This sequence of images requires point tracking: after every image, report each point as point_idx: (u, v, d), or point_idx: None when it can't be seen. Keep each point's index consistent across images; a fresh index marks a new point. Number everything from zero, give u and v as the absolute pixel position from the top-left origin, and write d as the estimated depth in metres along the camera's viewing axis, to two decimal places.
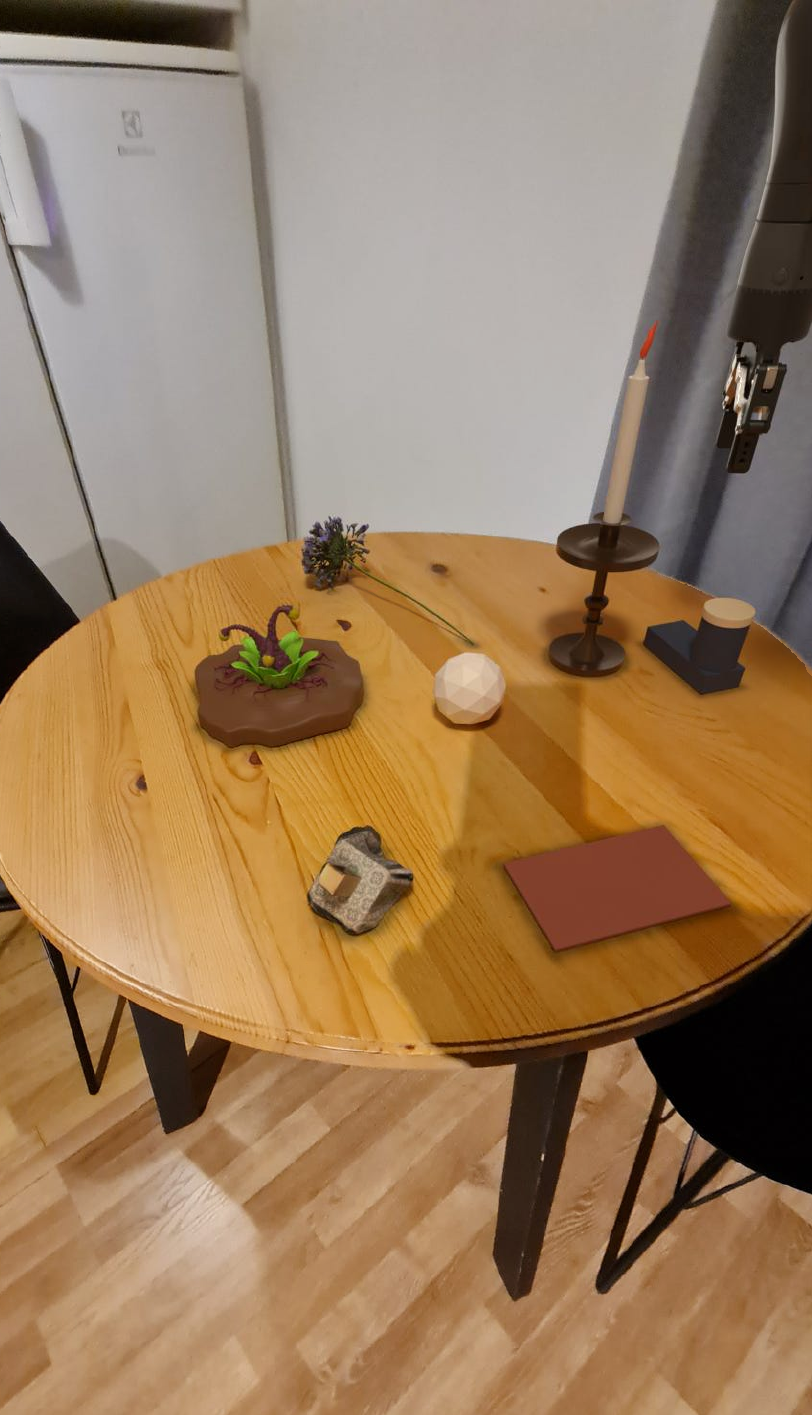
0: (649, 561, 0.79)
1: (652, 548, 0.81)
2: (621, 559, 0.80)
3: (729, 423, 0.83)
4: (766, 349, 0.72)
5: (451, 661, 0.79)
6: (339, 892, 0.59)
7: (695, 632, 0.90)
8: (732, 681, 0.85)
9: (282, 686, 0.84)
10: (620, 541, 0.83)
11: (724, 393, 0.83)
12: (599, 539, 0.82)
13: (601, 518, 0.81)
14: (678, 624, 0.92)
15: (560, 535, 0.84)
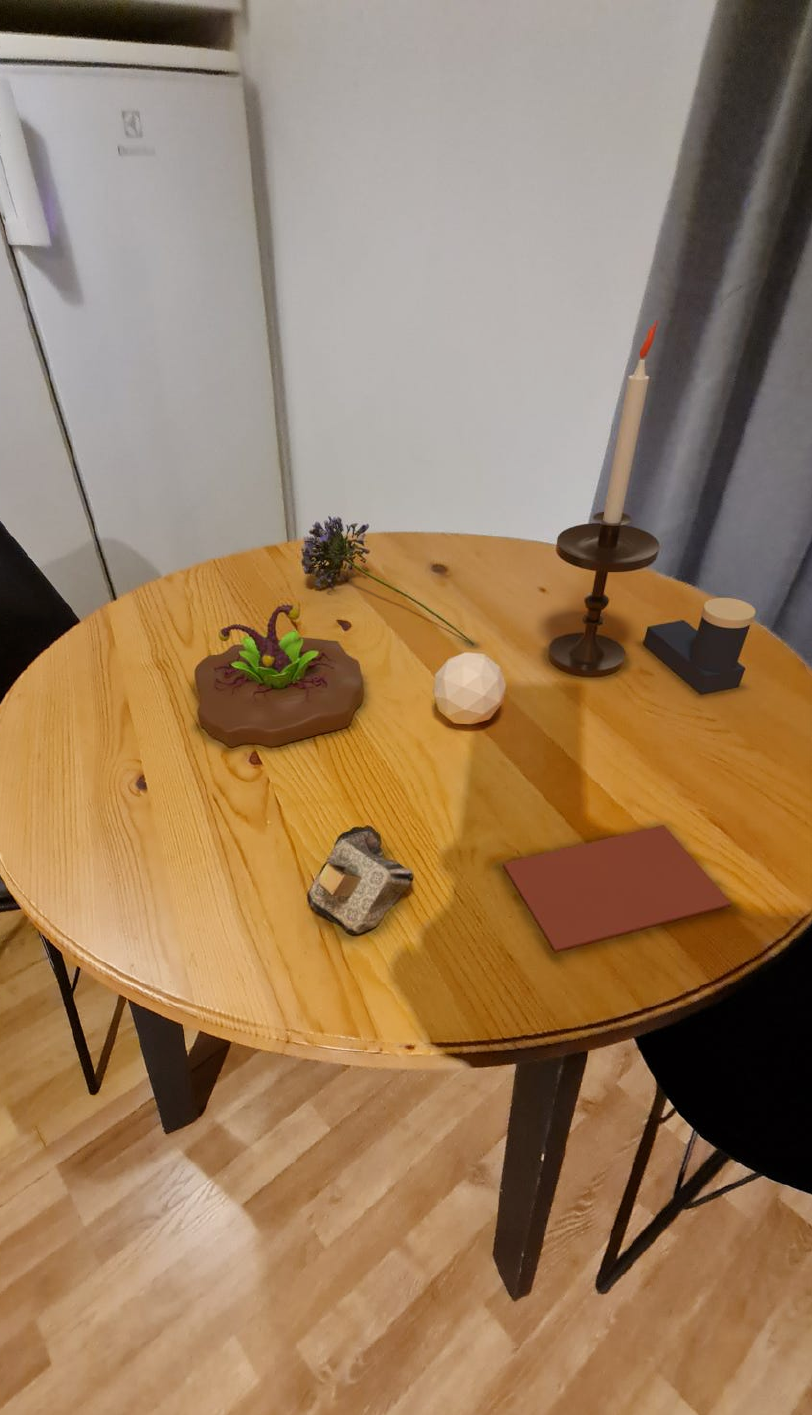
0: (649, 561, 0.79)
1: (652, 548, 0.81)
2: (621, 559, 0.80)
3: None
4: None
5: (451, 661, 0.79)
6: (339, 892, 0.59)
7: (695, 632, 0.90)
8: (732, 681, 0.85)
9: (282, 686, 0.84)
10: (620, 541, 0.83)
11: None
12: (599, 539, 0.82)
13: (601, 518, 0.81)
14: (678, 624, 0.92)
15: (560, 535, 0.84)
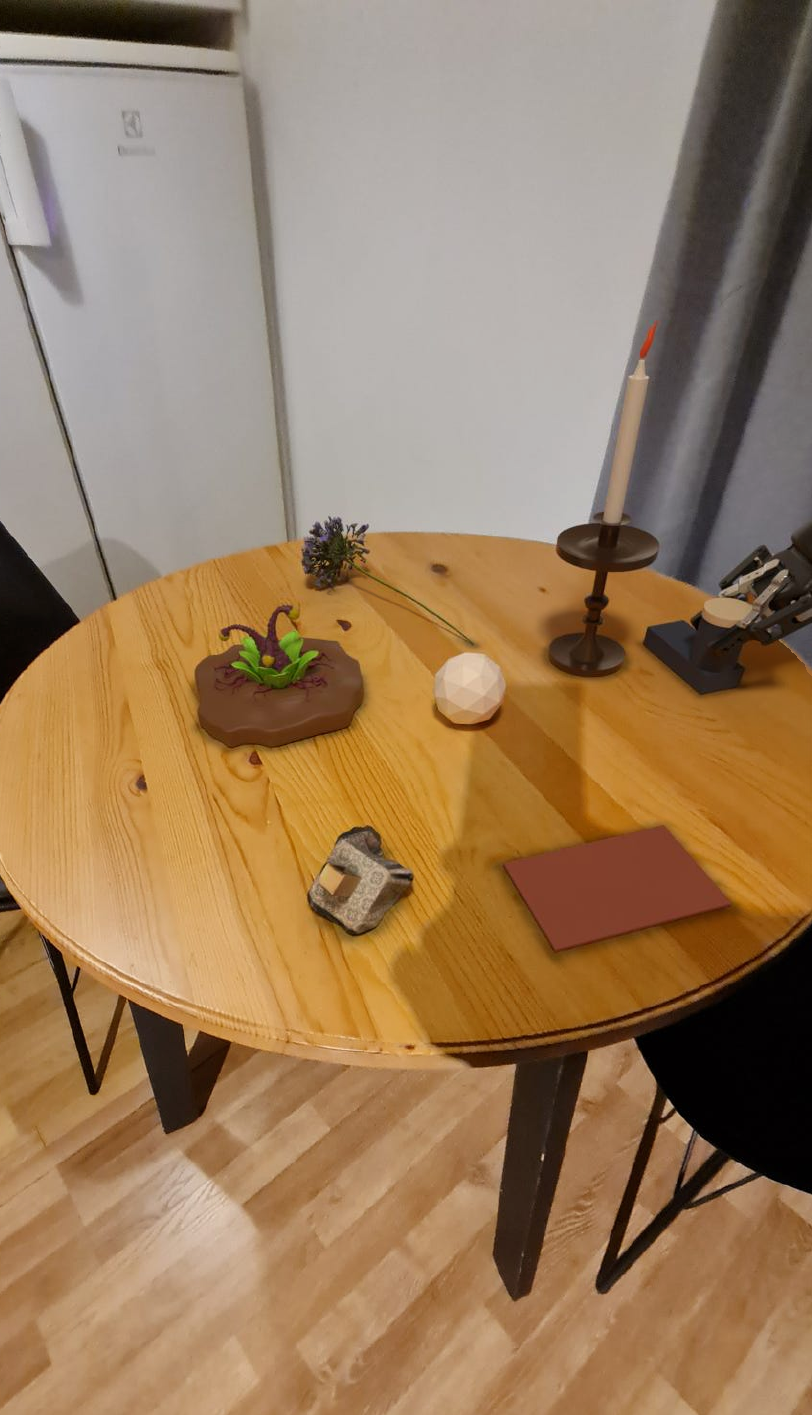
0: (649, 561, 0.79)
1: (652, 548, 0.81)
2: (621, 559, 0.80)
3: None
4: None
5: (451, 661, 0.79)
6: (339, 892, 0.59)
7: (695, 632, 0.90)
8: (732, 681, 0.85)
9: (282, 686, 0.84)
10: (620, 541, 0.83)
11: None
12: (599, 539, 0.82)
13: (601, 518, 0.81)
14: (678, 624, 0.92)
15: (560, 535, 0.84)
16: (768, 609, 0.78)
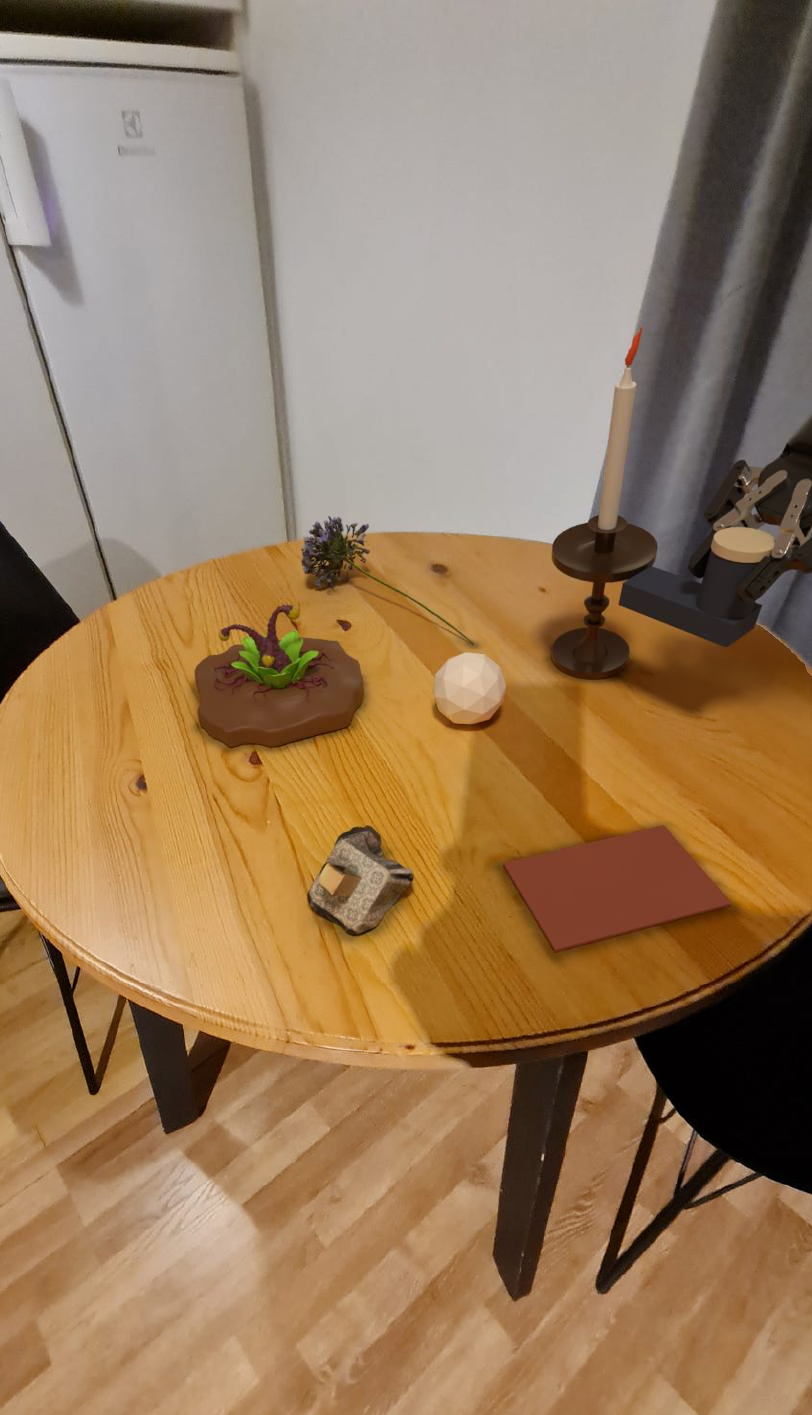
0: (642, 570, 0.78)
1: (649, 554, 0.79)
2: (614, 567, 0.79)
3: None
4: None
5: (451, 661, 0.79)
6: (339, 892, 0.59)
7: (676, 577, 0.76)
8: (751, 623, 0.71)
9: (282, 686, 0.84)
10: (618, 544, 0.81)
11: None
12: (595, 544, 0.80)
13: (596, 523, 0.79)
14: (651, 572, 0.77)
15: (557, 538, 0.83)
16: (799, 529, 0.64)
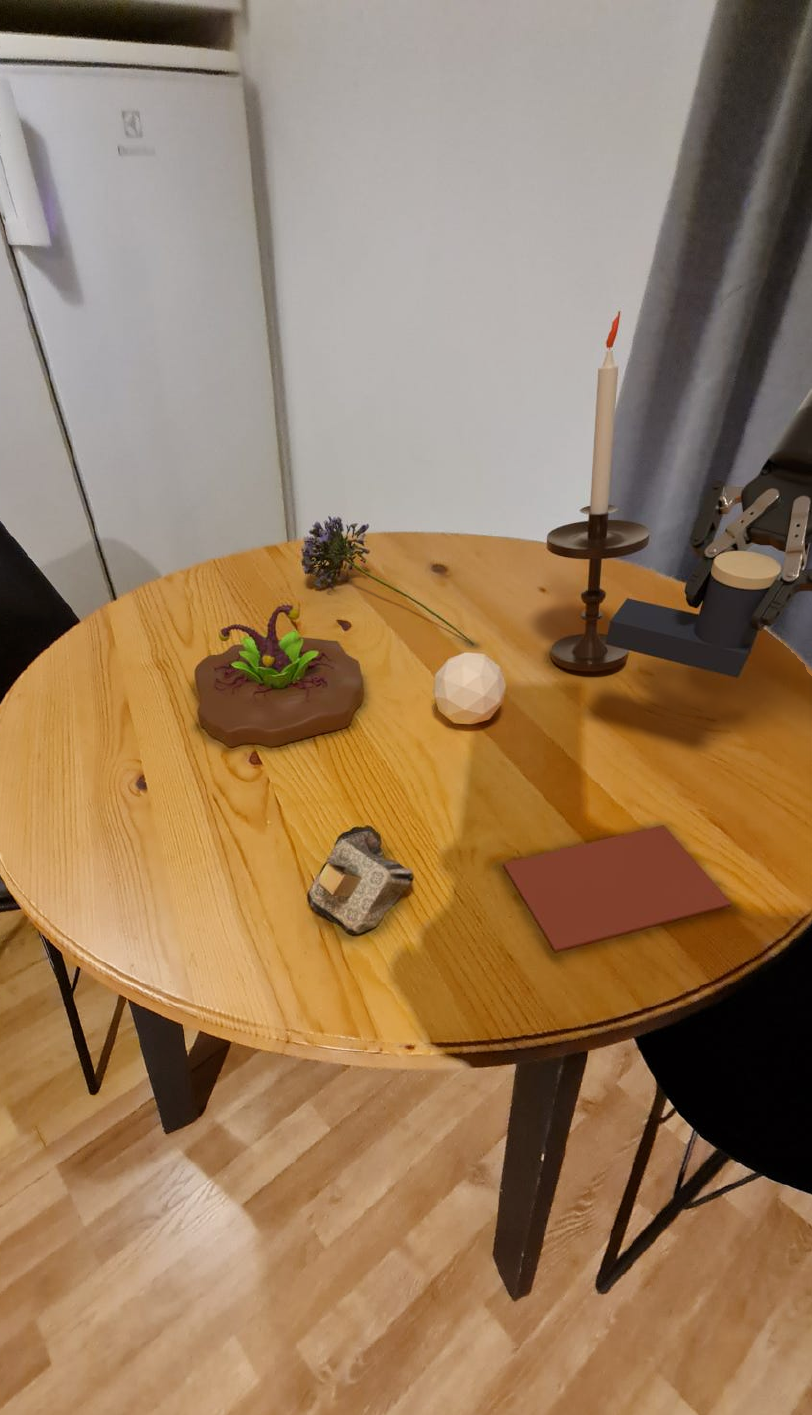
0: (635, 548, 0.79)
1: (641, 537, 0.81)
2: (607, 547, 0.80)
3: None
4: None
5: (451, 661, 0.79)
6: (339, 892, 0.59)
7: (659, 607, 0.71)
8: (751, 648, 0.68)
9: (282, 686, 0.84)
10: (611, 533, 0.83)
11: None
12: (588, 531, 0.83)
13: (588, 510, 0.82)
14: (631, 605, 0.71)
15: (552, 531, 0.86)
16: (804, 549, 0.61)
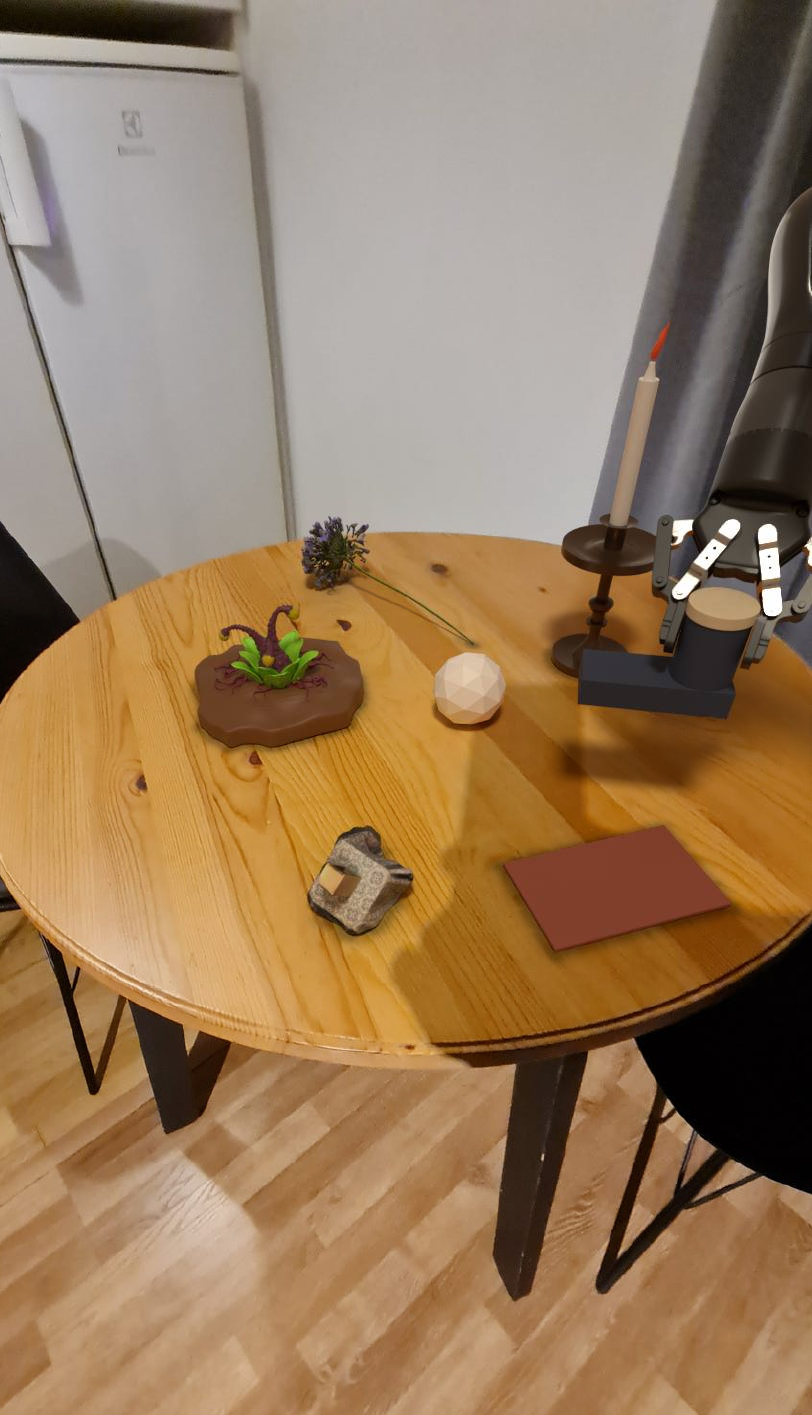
0: (650, 567, 0.78)
1: None
2: (622, 563, 0.80)
3: (751, 635, 0.58)
4: None
5: (451, 661, 0.79)
6: (339, 892, 0.59)
7: (621, 654, 0.65)
8: None
9: (282, 686, 0.84)
10: (627, 544, 0.82)
11: None
12: (604, 541, 0.81)
13: (608, 520, 0.80)
14: (592, 657, 0.65)
15: (567, 534, 0.84)
16: None
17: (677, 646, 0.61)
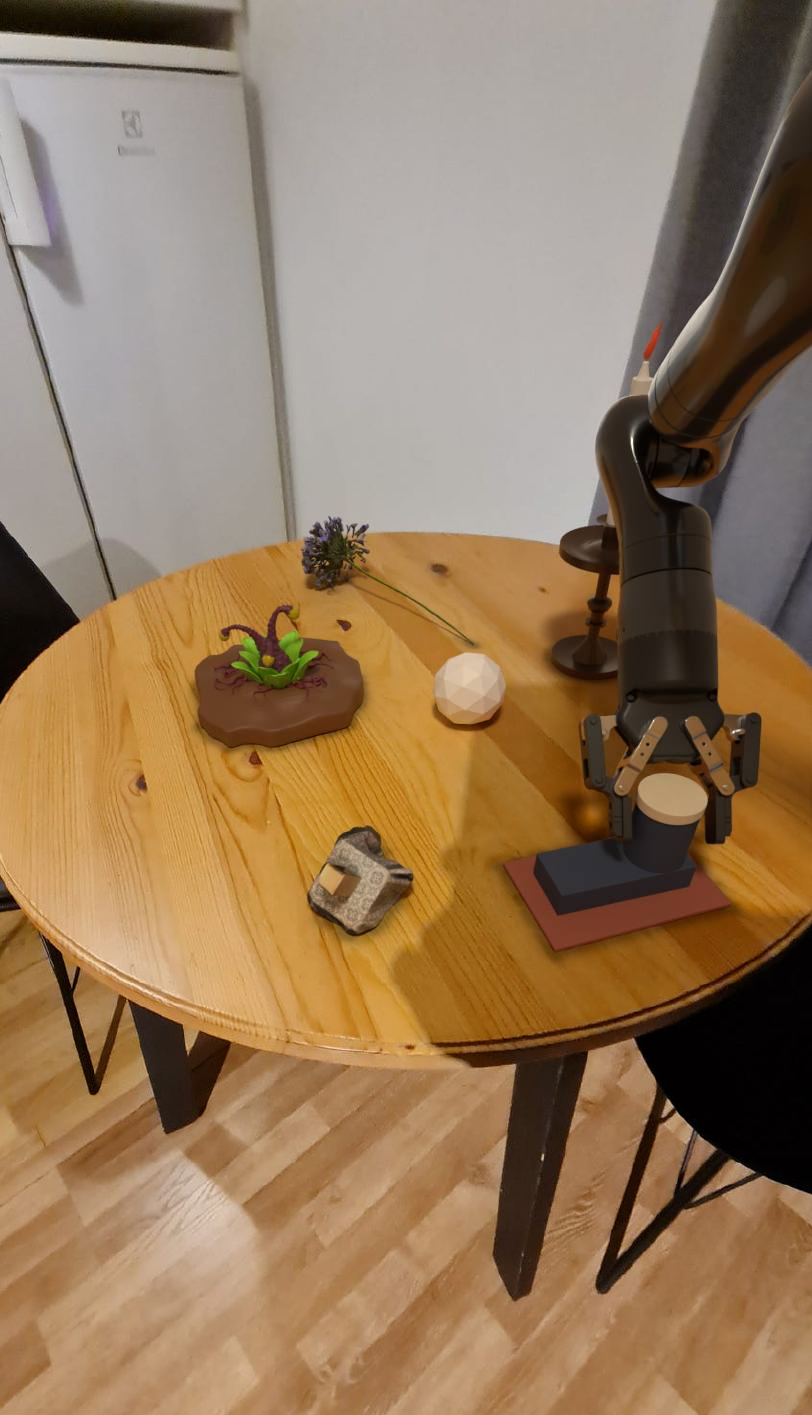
0: None
1: None
2: None
3: (708, 811, 0.60)
4: (618, 702, 0.61)
5: (451, 661, 0.79)
6: (339, 892, 0.59)
7: (574, 849, 0.64)
8: None
9: (282, 686, 0.84)
10: None
11: None
12: (602, 541, 0.82)
13: (605, 519, 0.81)
14: (551, 861, 0.63)
15: (565, 535, 0.84)
16: None
17: (635, 837, 0.61)
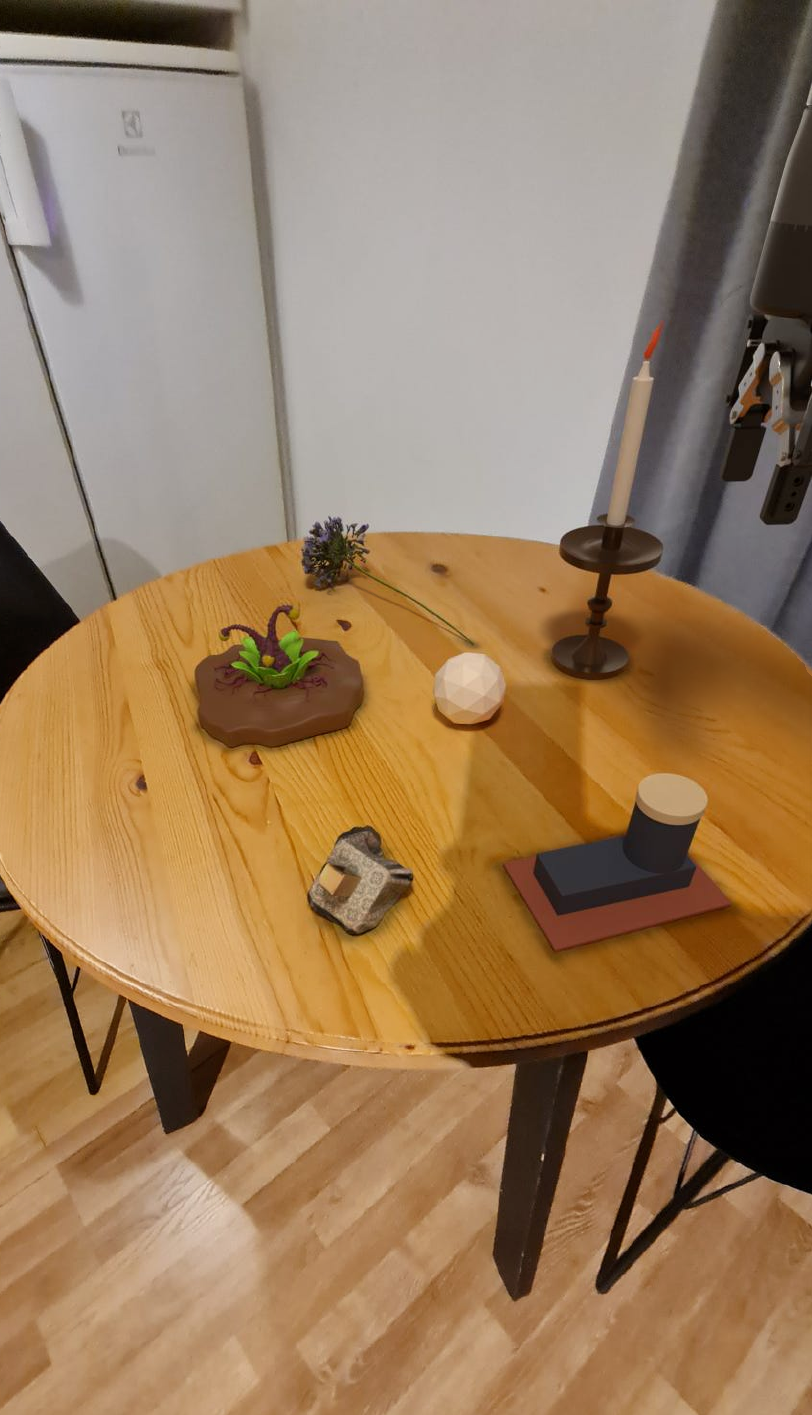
0: (648, 565, 0.79)
1: (654, 553, 0.80)
2: (620, 562, 0.80)
3: (742, 445, 0.55)
4: None
5: (451, 661, 0.79)
6: (339, 892, 0.59)
7: (574, 849, 0.64)
8: None
9: (282, 686, 0.84)
10: (625, 544, 0.82)
11: (729, 400, 0.55)
12: (602, 540, 0.82)
13: (605, 519, 0.81)
14: (551, 861, 0.63)
15: (565, 535, 0.84)
16: None
17: (635, 838, 0.61)
